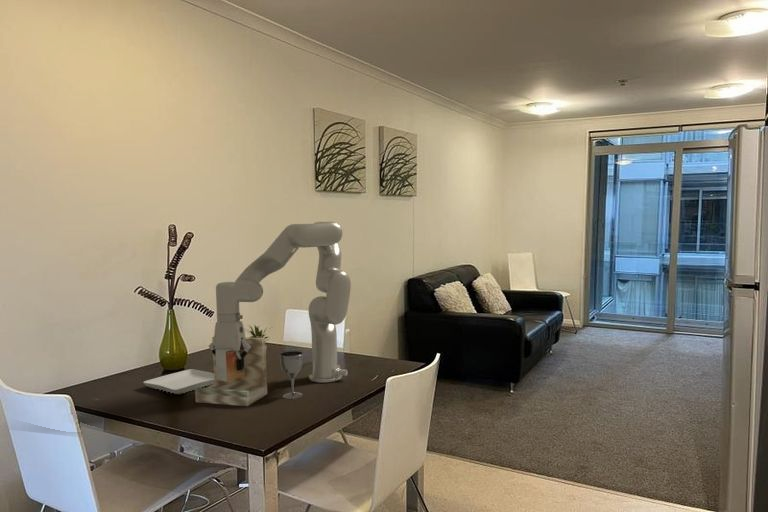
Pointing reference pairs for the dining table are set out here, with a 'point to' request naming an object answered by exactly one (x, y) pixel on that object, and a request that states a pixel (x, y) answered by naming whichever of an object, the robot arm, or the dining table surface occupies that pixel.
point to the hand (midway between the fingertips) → (230, 368)
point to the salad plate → (181, 381)
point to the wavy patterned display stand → (240, 380)
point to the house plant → (257, 334)
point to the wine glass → (291, 369)
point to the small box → (227, 365)
